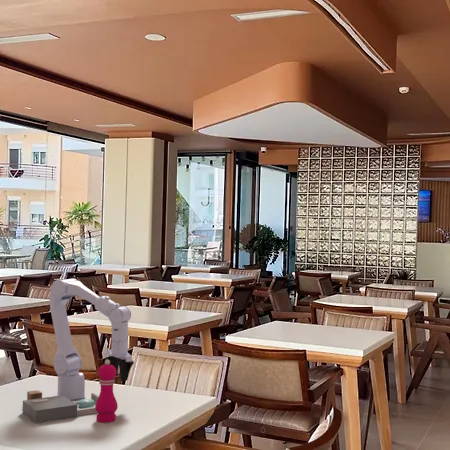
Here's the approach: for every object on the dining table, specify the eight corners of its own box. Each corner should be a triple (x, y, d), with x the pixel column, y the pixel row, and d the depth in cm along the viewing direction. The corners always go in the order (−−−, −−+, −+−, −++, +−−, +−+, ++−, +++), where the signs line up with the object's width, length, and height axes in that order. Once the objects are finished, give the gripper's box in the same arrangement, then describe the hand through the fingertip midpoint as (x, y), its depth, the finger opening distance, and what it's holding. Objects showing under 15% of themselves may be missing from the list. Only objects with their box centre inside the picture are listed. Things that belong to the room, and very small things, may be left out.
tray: (94, 402, 237) (94, 392, 237) (109, 411, 226) (109, 401, 226) (57, 407, 229) (57, 397, 229) (71, 417, 218) (71, 407, 218)
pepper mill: (93, 418, 218) (94, 358, 218) (114, 416, 221) (115, 357, 221) (97, 424, 211) (98, 362, 211) (119, 422, 214) (120, 361, 214)
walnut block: (38, 404, 234) (38, 390, 234) (41, 406, 230) (42, 392, 230) (27, 405, 231) (27, 391, 231) (30, 408, 228) (30, 394, 228)
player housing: (62, 407, 230) (62, 394, 230) (77, 417, 219) (77, 404, 219) (22, 412, 223) (22, 400, 223) (35, 423, 211) (35, 409, 211)
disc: (91, 403, 231) (91, 398, 231) (95, 407, 227) (95, 401, 227) (76, 405, 229) (76, 399, 229) (80, 409, 224) (80, 403, 224)
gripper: (100, 338, 238) (99, 376, 238) (119, 344, 226) (119, 384, 226) (117, 337, 242) (116, 373, 242) (137, 342, 231) (136, 381, 231)
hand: (119, 378), depth 235 cm, fingers open, 7 cm apart
